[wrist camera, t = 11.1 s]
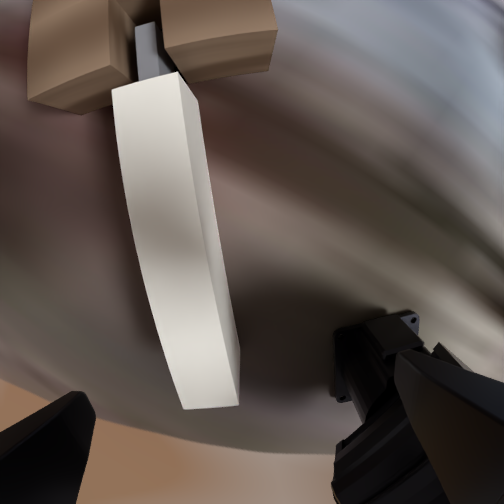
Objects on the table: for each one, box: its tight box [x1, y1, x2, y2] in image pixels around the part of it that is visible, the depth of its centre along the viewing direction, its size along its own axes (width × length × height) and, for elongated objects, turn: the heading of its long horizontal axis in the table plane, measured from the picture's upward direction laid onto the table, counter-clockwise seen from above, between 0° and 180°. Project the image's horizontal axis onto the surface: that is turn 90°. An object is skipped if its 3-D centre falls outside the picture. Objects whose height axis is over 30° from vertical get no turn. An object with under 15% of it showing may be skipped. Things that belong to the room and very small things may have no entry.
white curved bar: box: [112, 22, 240, 409], centre depth 16 cm, size 20×3×6 cm, turn 9°
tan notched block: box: [27, 0, 278, 115], centre depth 13 cm, size 10×12×6 cm
